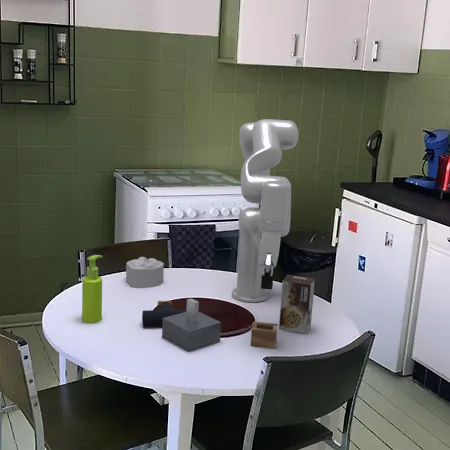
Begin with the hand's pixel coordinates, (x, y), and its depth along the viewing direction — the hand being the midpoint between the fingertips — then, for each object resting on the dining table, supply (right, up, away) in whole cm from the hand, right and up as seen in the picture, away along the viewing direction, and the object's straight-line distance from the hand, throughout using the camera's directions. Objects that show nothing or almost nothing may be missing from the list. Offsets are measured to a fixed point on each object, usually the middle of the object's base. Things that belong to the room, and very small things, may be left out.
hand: (267, 283), depth 187 cm
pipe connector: (-30, -14, +16) cm, 37 cm away
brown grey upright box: (+9, -16, +17) cm, 25 cm away
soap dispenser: (-53, -12, +14) cm, 56 cm away
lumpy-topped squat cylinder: (-41, -4, +49) cm, 64 cm away
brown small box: (-1, -18, +5) cm, 18 cm away
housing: (-22, -17, +4) cm, 28 cm away
